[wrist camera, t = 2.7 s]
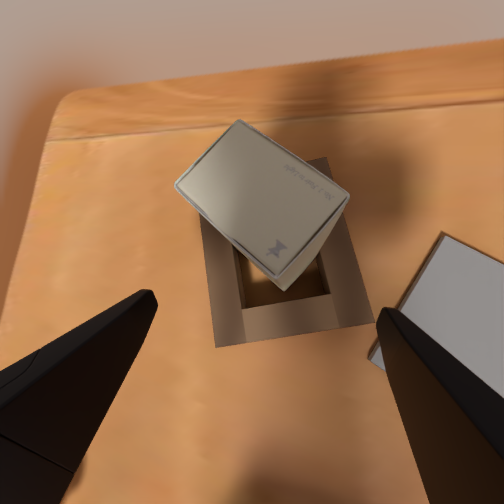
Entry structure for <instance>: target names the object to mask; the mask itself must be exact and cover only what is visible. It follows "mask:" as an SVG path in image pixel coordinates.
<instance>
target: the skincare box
mask: <svg viewBox="0 0 504 504" xmlns="http://www.w3.org/2000/svg"><path fill="white" fill-rule="evenodd" d="M174 188H175V189H176V190H177V191H178V192H179V193H180V194H181V195H182V196H183V197H184V198H185V199H186V200H187V201H188V202H189V203H190V204H191V205H192V206H193V207H194V208H195V209H196V210H197V211H198V212H199V213H200V214H201V215H202V216H203V217H204V218H206V219H207V220H208V221H209V222H210V223H211V224H212V225H213V226H214V227H215V228H216V229H217V230H218V231H219V232H220V233H221V234H222V235H223V236H224V237H225V238H226V239H228V240H229V241H230V242H231V243H232V244H233V245H234V246H235V247H236V248H237V249H238V250H239V251H240V252H241V253H242V254H243V255H244V256H245V257H246V258H248V259H249V260H250V261H251V262H252V263H253V264H254V265H255V266H256V267H257V268H258V269H259V270H260V271H261V272H263V273H264V274H265V275H266V276H267V277H268V278H269V279H270V280H271V281H272V282H273V283H274V284H276V285H277V286H278V287H279V288H280V289H281V290H282V291H286V290H287V289H288V288H289V286H290V285H291V284H292V283H293V282H294V281H295V280H296V279H297V278H298V277H299V276H300V275H301V274H302V273H303V271H304V270H305V269H306V268H307V267H308V266H309V265H310V263H311V262H312V261H313V260H314V259H315V257H316V255H317V254H318V252H319V250H320V249H321V247H322V246H323V244H324V242H325V241H326V239H327V237H328V236H329V234H330V232H331V231H332V229H333V227H334V226H335V224H336V222H337V220H338V219H339V217H340V215H341V213H342V212H343V210H344V208H345V206H346V204H347V203H348V201H349V199H350V194H349V193H348V192H347V191H346V190H344V189H343V188H341V187H340V186H339V185H338V184H336V183H335V182H333V181H332V180H331V179H329V178H328V177H327V176H325V175H324V174H322V173H321V172H319V171H318V170H317V169H315V168H314V167H312V166H311V165H309V164H308V163H306V162H305V161H304V160H302V159H301V158H299V157H298V156H296V155H295V154H293V153H291V152H290V151H288V150H287V149H286V148H284V147H283V146H281V145H280V144H278V143H277V142H275V141H274V140H272V139H271V138H269V137H268V136H266V135H264V134H263V133H261V132H260V131H258V130H257V129H255V128H254V127H252V126H251V125H249V124H247V123H246V122H244V121H243V120H241V119H239V120H237V121H235V122H234V123H233V124H232V125H231V126H230V127H229V128H228V129H227V130H226V131H225V132H224V133H223V134H222V135H221V136H220V137H219V138H218V139H217V140H216V141H215V142H214V143H213V144H212V145H211V146H210V147H209V148H208V149H207V150H206V151H205V152H204V153H203V154H202V155H201V156H200V157H199V158H198V159H197V160H196V161H195V162H194V163H193V164H192V165H191V166H190V167H189V168H188V169H187V170H186V171H185V172H184V173H183V174H182V175H181V176H180V177H179V178H178V179H177V180H176V182H175V183H174Z"/></svg>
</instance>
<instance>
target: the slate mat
mask: <svg viewBox="0 0 504 504" xmlns="http://www.w3.org/2000/svg"><path fill="white" fill-rule="evenodd" d="M398 310H399V311H401V312H402V313H403V314H404V315H405V316H407V317H408V318H409V319H410V320H411V321H413V322H414V323H415V324H416V325H417V326H419V327H420V328H421V329H422V330H423V331H424V332H426V333H427V334H428V335H429V336H430V337H432V338H433V339H434V340H435V341H436V342H438V343H439V344H440V345H441V346H442V347H444V348H445V349H446V350H447V351H448V352H450V353H451V354H452V355H453V356H454V357H455V358H457V359H458V360H459V361H460V362H461V363H463V364H464V365H465V366H466V367H467V368H469V369H470V370H471V371H472V372H473V373H475V374H476V375H477V376H478V377H479V378H481V379H482V380H483V381H484V382H485V383H487V384H488V385H489V386H490V387H491V388H492V389H494V390H495V391H496V392H497V393H498V394H500V395H501V396H502V397H503V398H504V265H503V264H501V263H499V262H497V261H495V260H493V259H491V258H489V257H487V256H485V255H483V254H481V253H479V252H477V251H475V250H473V249H471V248H469V247H467V246H465V245H463V244H461V243H459V242H457V241H455V240H453V239H452V238H450V237H448V236H444V237H441V238H440V240H439V241H438V243H437V245H436V246H435V248H434V250H433V251H432V253H431V255H430V256H429V258H428V260H427V261H426V263H425V265H424V266H423V268H422V270H421V271H420V273H419V274H418V276H417V278H416V279H415V281H414V283H413V284H412V286H411V288H410V289H409V291H408V293H407V294H406V296H405V298H404V299H403V301H402V303H401V304H400V306H399V308H398ZM368 360H370V361H371V362H372V363H374V364H375V365H377V366H378V367H380V368H381V369H382V370H384V371H385V372H386V370H385V366H384V362H383V357H382V352H381V348H380V343H379V341H378V343H377V344H376V346H375V348H374V349H373V351H372V353H371V354H370V356H369V358H368Z"/></svg>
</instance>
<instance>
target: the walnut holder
mask: <svg viewBox="0 0 504 504" xmlns="http://www.w3.org/2000/svg"><path fill="white" fill-rule="evenodd" d="M306 163H308V164H309V165H311V166H312V167H314V168H315V169H317V170H318V171H319V172H321V173H322V174H324V175H325V176H327V177H328V178H329V179H331V180H332V181H333V178H332V175H331V171H330V168H329V164H328V161H327V158H326V157H323V158H319V159H315V160H311V161H307V162H306ZM333 182H334V181H333ZM199 215H200V224H201V232H202V240H203V248H204V257H205V265H206V273H207V281H208V290H209V298H210V306H211V314H212V323H213V331H214V339H215V347H216V348H218V347H224V346H231V345H237V344H243V343H250V342H256V341H262V340H269V339H275V338H281V337H288V336H294V335H300V334H307V333H313V332H319V331H326V330H332V329H338V328H345V327H351V326H357V325H364V324H370V323H375V320H374V317H373V314H372V310H371V307H370V303H369V300H368V297H367V293H366V290H365V286H364V283H363V280H362V276H361V273H360V269H359V266H358V263H357V259H356V256H355V253H354V249H353V246H352V242H351V239H350V236H349V232H348V229H347V225H346V222H345V219H344V215H343V212H342V213H341V215H340V217H339V219H338V220H337V222H336V224H335V226H334V227H333V229H332V231H331V232H330V234H329V236H328V237H327V239H326V241H325V242H324V244H323V246H322V247H321V249H320V250H319V252H318V254H317V255H316V260H317V264H318V268H319V272H320V276H321V280H322V285H323V289H324V293H325V295H320V296H314V297H308V298H303V299H297V300H291V301H286V302H280V303H274V304H269V305H263V306H257V307H251V308H247V305H246V299H245V293H244V286H243V280H242V274H241V268H240V262H239V255H238V249H237V248H236V247H235V246H234V245H233V244H232V243H231V242H230V241H229V240H228V239H226V238H225V237H224V236H223V235H222V234H221V233H220V232H219V231H218V230H217V229H216V228H215V227H214V226H213V225H212V224H211V223H210V222H209V221H208V220H207V219H206V218H204V217H203V216H202V215H201V214H200V213H199Z"/></svg>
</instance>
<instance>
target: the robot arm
mask: <svg viewBox="0 0 504 504" xmlns="http://www.w3.org/2000/svg"><path fill="white" fill-rule="evenodd" d="M157 308H158V303H157V300H156V298H155V295H154V293H153V291H152V290H149V289H141V290H139V291H138V292H136V293H134V294H132V295H131V296H129V297H127V298H126V299H124V300H122V301H120V302H119V303H117V304H115V305H114V306H112V307H110V308H108V309H107V310H105V311H103V312H102V313H100V314H98V315H96V316H95V317H93V318H91V319H90V320H88V321H86V322H84V323H83V324H81V325H79V326H78V327H76V328H74V329H72V330H71V331H69V332H67V333H66V334H64V335H62V336H60V337H59V338H57V339H55V340H54V341H52V342H50V343H48V344H47V345H45V346H43V347H42V348H41V349H38V350H36V351H35V352H33V353H31V354H30V355H28V356H26V357H24V358H23V359H21V360H19V361H17V362H16V363H14V364H12V365H10V366H8V367H7V368H5V369H3V370H1V371H0V504H59V503H60V501H61V500H62V498H63V496H64V494H65V492H66V490H67V488H68V486H69V484H70V482H71V480H72V479H73V477H74V473H75V472H76V471H77V469H78V467H79V465H80V463H81V461H82V459H83V457H84V455H85V453H86V451H87V450H88V448H89V446H90V444H91V442H92V440H93V438H94V436H95V434H96V432H97V431H98V429H99V427H100V425H101V423H102V421H103V419H104V417H105V415H106V413H107V411H108V410H109V408H110V406H111V404H112V402H113V400H114V398H115V396H116V394H117V392H118V390H119V389H120V387H121V385H122V383H123V381H124V379H125V377H126V375H127V373H128V371H129V369H130V368H131V366H132V364H133V362H134V360H135V358H136V356H137V354H138V352H139V350H140V348H141V346H142V344H143V342H144V340H145V338H146V336H147V333H148V331H149V328H150V326H151V323H152V321H153V318H154V316H155V313H156V311H157ZM376 329H377V334H378V338H379V343H380V348H381V352H382V357H383V362H384V366H385V370H386V373H387V377H388V380H389V383H390V386H391V389H392V392H393V395H394V398H395V401H396V404H397V407H398V410H399V413H400V416H401V419H402V422H403V425H404V428H405V431H406V434H407V437H408V440H409V443H410V446H411V449H412V452H413V455H414V458H415V461H416V464H417V467H418V470H419V473H420V476H421V479H422V482H423V485H424V488H425V491H426V494H427V497H428V500H429V503H430V504H504V398H503V397H502V396H501V395H500V394H498V393H497V392H496V391H495V390H494V389H492V388H491V387H490V386H489V385H488V384H487V383H485V382H484V381H483V380H482V379H481V378H479V377H478V376H477V375H476V374H475V373H473V372H472V371H471V370H470V369H469V368H467V367H466V366H465V365H464V364H463V363H461V362H460V361H459V360H458V359H457V358H455V357H454V356H453V355H452V354H451V353H450V352H448V351H447V350H446V349H445V348H444V347H442V346H441V345H440V344H439V343H438V342H436V341H435V340H434V339H433V338H432V337H430V336H429V335H428V334H427V333H426V332H424V331H423V330H422V329H421V328H420V327H419V326H417V325H416V324H415V323H414V322H413V321H411V320H410V319H409V318H408V317H407V316H405V315H404V314H403V313H402V312H401V311H399V310H398V309H396V308H391V307H384V308H382V310H381V312H380V314H379V317H378V319H377V322H376Z"/></svg>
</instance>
